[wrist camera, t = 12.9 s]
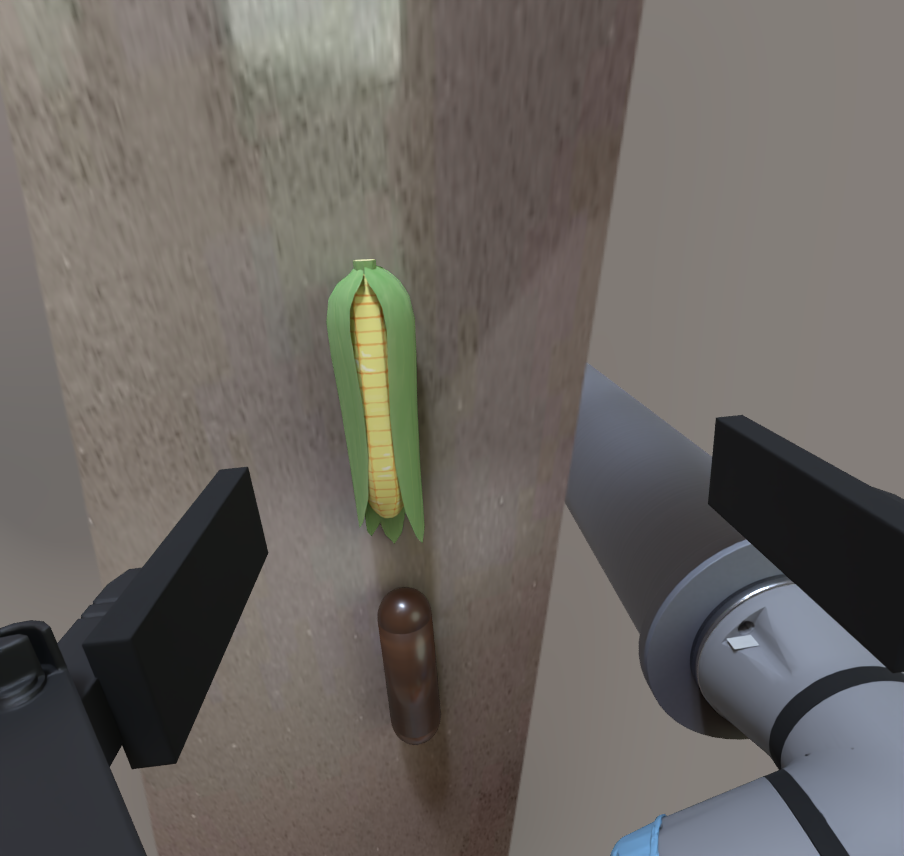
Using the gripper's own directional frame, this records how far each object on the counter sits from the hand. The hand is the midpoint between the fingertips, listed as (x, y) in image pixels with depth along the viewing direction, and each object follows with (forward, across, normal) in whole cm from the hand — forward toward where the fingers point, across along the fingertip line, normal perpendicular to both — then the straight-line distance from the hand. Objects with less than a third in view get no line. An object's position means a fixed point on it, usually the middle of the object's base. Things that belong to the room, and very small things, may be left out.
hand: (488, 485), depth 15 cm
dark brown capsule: (+21, -5, -25) cm, 33 cm away
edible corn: (+22, -4, -4) cm, 22 cm away
